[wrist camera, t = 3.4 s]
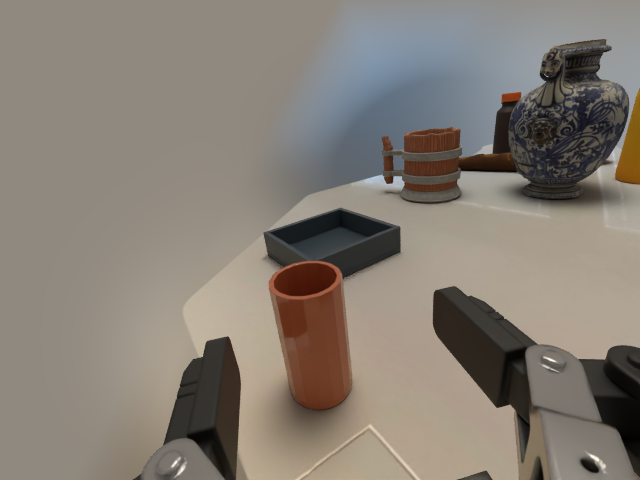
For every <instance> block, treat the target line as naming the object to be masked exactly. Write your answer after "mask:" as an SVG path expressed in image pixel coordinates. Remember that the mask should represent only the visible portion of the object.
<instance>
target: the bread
mask: <svg viewBox="0 0 640 480" xmlns="http://www.w3.org/2000/svg"><path fill="white" fill-rule="evenodd" d="M458 167H459V168H460V169H461V170H489V171H517V170H516V167H515V163H514V160H513V158H512V154H511V153H501V154H487V155H485V154H478V155H474V156H470V157H463V158H459V160H458Z"/></svg>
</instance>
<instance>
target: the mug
mask: <svg viewBox="0 0 640 480" xmlns="http://www.w3.org/2000/svg"><path fill="white" fill-rule="evenodd" d="M382 141H383V145H384V150H383V151H382V155H383V156H384V171H383V176H384V179H385V181H386V183H387V184H391V183H393V176H402V180H403V181H404V182H405V186H404V188H403V189H402V191H401V196H402V197H403V198H404V199H406V200H409V201H412V202H419V203H438V202H445V201H449V200H453V199H455V198H457V197H458V196H459V195H460V194H461V190H460V188H459V187H458V185H457V180H458V179H459V178H460V171H461V169H460V168H459V167H458V160H459V156H461V154H462V146H461V145H459V144H460V129H459V128H457V129H454V128H452V127H450V128H447V129H428V130H422V131H412V132H409V133H406V134H405V135H404V149H403V150H393V147H392V145H391V142H390V140H389V138H388V136H384V137H382ZM393 155H402V159H404V163H405V165H404V170H394V169H393Z"/></svg>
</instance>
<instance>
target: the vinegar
mask: <svg viewBox="0 0 640 480" xmlns="http://www.w3.org/2000/svg"><path fill="white" fill-rule="evenodd" d="M520 99H521V92H517V93H508V94H503V95H502V108H501V109H500V110H499V111H498V112H497V117H496V125H495V135H494V144H493V154H501V153H511V151H510V146H509V122H510V117H511V114H512V111H513V109H514V107H515V106H516V104H517V103H518V101H519V100H520Z"/></svg>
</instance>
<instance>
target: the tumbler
mask: <svg viewBox="0 0 640 480" xmlns="http://www.w3.org/2000/svg"><path fill="white" fill-rule="evenodd" d="M269 291H270V295H271V300H272V305H273V310H274V314H275V319H276V324H277V328H278V333H279V338H280V343H281V347H282V352H283V357H284V361H285V366H286V371H287V376H288V380H289V385H290V389H291V392H292V395H293V397H294V399H295V400H296V401H297V402H298V403H299V404H301V405H302V406H304V407H306V408H309V409H314V410H323V409H328V408H331V407H334V406H336V405H337V404H339V403H340V402H342V401H343V400H344V399H345V398H346V397H347V395H348V394H349V392H350V389H351V386H352V370H351V359H350V349H349V339H348V329H347V319H346V308H345V298H344V288H343V278H342V273H341V271H340V270H339V268H338V267H336V266H334V265H333V264H331V263H327V262H322V261H304V262H299V263H294V264H291V265H289V266H286V267H284V268H282V269H280V270H279V271H278V272H276V273H275V274H273V276H272V277H271V279H270V280H269Z"/></svg>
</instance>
